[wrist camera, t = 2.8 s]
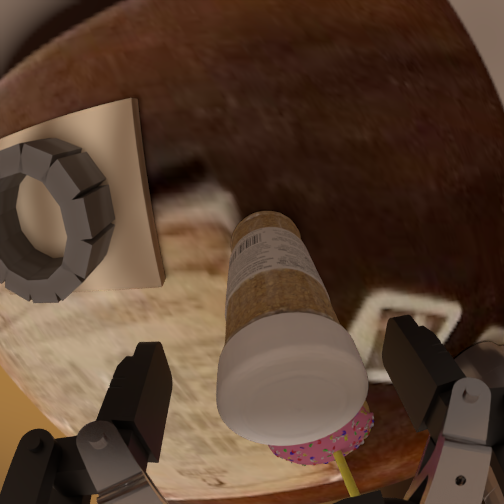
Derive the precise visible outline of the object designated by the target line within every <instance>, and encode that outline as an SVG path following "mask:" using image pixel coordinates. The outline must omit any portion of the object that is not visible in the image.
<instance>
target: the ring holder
mask: <svg viewBox="0 0 504 504" xmlns="http://www.w3.org/2000/svg"><path fill="white" fill-rule="evenodd" d="M165 279H166V278H165V273H164V268H163V263H162V259H161V254H160V249H159V243H158V238H157V233H156V227H155V222H154V216H153V211H152V205H151V199H150V192H149V186H148V179H147V173H146V166H145V158H144V151H143V143H142V135H141V126H140V117H139V107H138V99H135V98H128V99H124V100H120V101H115V102H111V103H107V104H103V105H100V106H96V107H92V108H89V109H85V110H82V111H78V112H75V113H71V114H68V115H65V116H62V117H59V118H56V119H53V120H50V121H47V122H44V123H41V124H38V125H35V126H32V127H30V128H27V129H24V130H22V131H19V132H17V133H14V134H12V135H9V136H7V137H4V138H2V139H0V283H1V284H2V283H3V282H4V281H5V288H7V289H8V290H9V292H10V294H17V295H18V296H20V297H22V298H24V299H25V300H27V301H30V300H31V299H32V300H33V303H59V301H60V300H62V301H63V300H64V299H65V298H66V297H67V296H69V295H70V294H71V293H72V292H86V291H106V290H124V289H140V288H156V287H162V286H163V284H164V281H165Z"/></svg>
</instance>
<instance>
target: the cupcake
mask: <svg viewBox="0 0 504 504" xmlns="http://www.w3.org/2000/svg"><path fill="white" fill-rule="evenodd" d="M373 419H374V417H373V413H372V412H371V413H370V412H369V407H368V404H367V402H366V400H365V401H364V404H363V406H362V407H361V409H360V410H359V412H358V413H357V414H356V416H355V417H354V418H353V419H352V420H351V421H349V422H348V423H347V424H346V425H345V426H343V427H342V428H340V429H339V430H337V431H335V432H334V433H332V434H330V435H328V436H326V437H323V438H321V439H318V440H315V441H312V442H308V443H304V444H298V445H289V446H275V445H268V446H269V448H270V449H271V451H272V452H273V453H274V454H275V455H276V456H277V457H280V458H282V459H283V458H284V459H286V460H288V461H291V463H292V462H294V463H297V464H302V465H304V466H306V465H317V464H322V463H324V464H327V463H328V462H330V461H335V460H336V463H337V465H338V468H339V470H340V472H341V475H342V477H343V480H344V482H345V484H346V487H347V489H348V492H349V494H350V497H355V496H359V495H360V493H359V491H358V489H357V486H356V484H355V482H354V479H353V477H352V475H351V473H350V470H349V468H348V466H347V463H346V461H345V459H344V456H346V455H348V453H350V452H351V451H353V450H355V449H357V448H358V447H359V445H360V444H363V443H364V441H363V439H365V438H366V437H368V435H369V432H370V431H371V429H370V428H371V427H372V426H374V424H373V423H372V422H374V421H373ZM372 424H373V425H372ZM369 430H370V431H369ZM365 436H366V437H365ZM362 441H363V442H362ZM361 442H362V443H361Z"/></svg>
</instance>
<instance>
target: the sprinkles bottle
mask: <svg viewBox="0 0 504 504" xmlns="http://www.w3.org/2000/svg"><path fill="white" fill-rule="evenodd" d="M231 252H232V253H231V257H230V262H229V271H228V282H227V294H226V306H225V319H226V336H225V345H224V348H223V350H222V353H221V355H220V359H219V364H218V373H217V392H216V402H217V408H218V412H219V414H220V416H221V418H222V420H223V421H224V423H225V424H226V425H227V426H228V427H229V428H230V429H231V430H232V431H234V432H235V433H236V434H238V435H240V436H241V437H243V438H245V439H248V440H250V441H253V442H257V443H261V444H266V445H275V446H289V445H298V444H304V443H308V442H312V441H315V440H318V439H321V438H323V437H326V436H328V435H330V434H332V433H334V432H335V431H337V430H339V429H340V428H342V427H343V426H345V425H346V424H347V423H348V422H349V421H351V420H352V419H353V418H354V417H355V416H356V414H357V413H358V412H359V410H360V409H361V407H362V406H363V404H364V401H365V399H366V396H367V392H368V377H367V372H366V370H365V367H364V364H363V362H362V359H361V357H360V355H359V352H358V350H357V348H356V346H355V343H354V341H353V339H352V338H351V336H350V335H349V333H348V332H347V331H346V330H345V329H344V328H343V327H342V326H341V325H340V323H339V321H338V319H337V316H336V314H335V312H334V310H333V308H332V306H331V303H330V298H329V296H328V293H327V291H326V289H325V287H324V285H323V282H322V280H321V278H320V276H319V274H318V272H317V270H316V268H315V266H314V263H313V261H312V259H311V257H310V255H309V253H308V250H307V248H306V247H305V245H304V243H303V242H302V240H301V236H300V232H299V230H298V228H297V227H296V225H295V224H294V222H293V221H292V220H291V219H290V218H288V217H287V216H285V215H283V214H282V213H279V212H274V211H260V212H256V213H252V214H251V215H249V216H247V217H246V218H244V219H243V220H242V221H241V222H240V223H239V224H238V225H237V227H236V229H235V230H234V232H233V235H232V240H231Z"/></svg>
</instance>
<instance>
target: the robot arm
mask: <svg viewBox="0 0 504 504" xmlns="http://www.w3.org/2000/svg"><path fill="white" fill-rule="evenodd" d="M382 359H383V364H384V367H385V369H386V371H387V373H388V375H389V377H390V379H391V381H392V383H393V385H394V387H395V389H396V391H397V393H398V395H399V397H400V399H401V401H402V403H403V405H404V407H405V409H406V411H407V413H408V415H409V417H410V419H411V422H412V424H413V426H414V428H415V430H416V432H420V431H423V430H426V429H428V431H429V433H430V435H429V437H428V440H427V443H426V446H425V449H424V452H423V455H422V458H421V461H420V464H419V466H418V469H417V472H416V474H415V477H414V480H413V482H412V484H411V486H410V488H409V489H408V491H407V493H406V495H405V497H404V499H397V498H383V497H382V494H381V491H380V490H378V491H375V492H371V493H367V494H363V495H359V496H355V497H350V498H346V499H343V500H341V501H338V502H336V503H334V504H481V502H482V498H484V500H485V503H486V504H504V345H502V346H497V345H496V344H495V343H493V342H482V343H479V344H476V345H474V346H472V347H470V348H469V349H467V350H466V351H464V352H463V353H462V354H460V355H459V356H458V357H457V358H455V359H453V358H452V356H451V355H450V354H449V352H448V351H446V348H445V347H444V345H443V344H441V341H440V340H439V339H438V338H437V336H436V335H435V334H434V333H433V332H432V331H430V330H429V329H427V328H426V327H424V326H418V325H417V323H416V322H415V321H414V319H413V318H412V317H411V316H410V315H404V316H399V317H393V318H390V319H389V320H388V323H387V328H386V334H385V339H384V344H383V350H382ZM109 386H110V388H108V390H107V393H106V395H105V398H104V401H103V403H102V406H101V409H100V411H99V414H98V417H97V419H96V421H93V422H90V423H88V424H86V425H85V426H84V427H83V428H82V429H81V430H80V431H79V433H78V435H77V436H72V437H65V438H57V439H54V437H53V436H52V435H51V434H50V433H49V432H48V431H46V430H44V429H34V430H31V431H29V432H27V433H26V434H25V435H24V436H23V437H22V438H21V440H20V442H19V444H18V447H17V449H16V452H15V454H14V457H13V459H12V462H11V465H10V468H9V470H8V473H7V476H6V478H5V481H4V484H3V487H2V490H1V493H0V504H90V500H91V495H92V494H99V497H97V503H98V504H168V502H167V501H166V500H165V498H164V497H163V496H162V494H161V493H160V491H159V490H158V488H157V487H156V486H155V484H154V483H153V481H152V480H151V478H150V477H149V475H148V474H147V472H146V468H147V463H148V462H154V463H159V458H160V452H161V446H162V440H163V435H164V429H165V424H166V418H167V413H168V408H169V403H170V398H171V393H172V375H171V371H170V368H169V365H168V362H167V359H166V356H165V353H164V350H163V347H162V344H161V343H160V342H139V343H138V345H137V347H136V350H135V352H134V355H133V356H126V357H125V358H124V359H123V360H122V362H121V363H120V364H119V365H118V366H117V368H116V370H115V373H114V375H113V379H112V380H111V383H110V385H109Z"/></svg>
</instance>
